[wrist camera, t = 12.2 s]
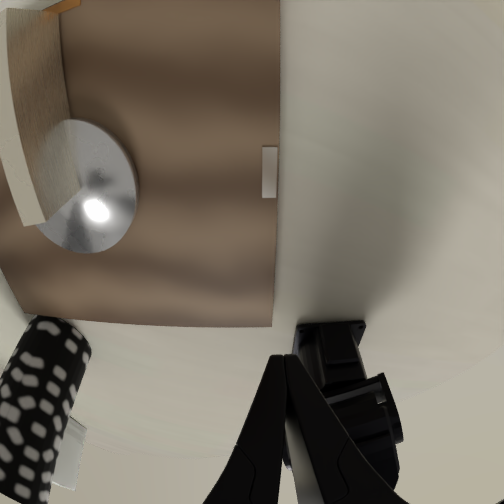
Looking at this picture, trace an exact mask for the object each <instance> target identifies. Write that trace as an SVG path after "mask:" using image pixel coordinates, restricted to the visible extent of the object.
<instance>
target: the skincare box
mask: <svg viewBox="0 0 504 504" xmlns="http://www.w3.org/2000/svg"><path fill="white" fill-rule="evenodd" d="M86 432H87V429H86V428H85V427H83V426H82V425H80V424H79V423H78V422H76V421H75V420H73V419H72V418H71V417H69V420H68V423H67V426H66V429H65V433H64V436H63V440H62V443H61V447H60V451H59V455H58V458H57V462H56V467H55V471H54V475H53V479H52V483H54V484H57V485H59V486H62V487H65V488H68V489H71V490H74V491H75V490H76V484H77V478H78V471H79V466H80V461H81V455H82V450H83V446H84V441H85V437H86Z"/></svg>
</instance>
